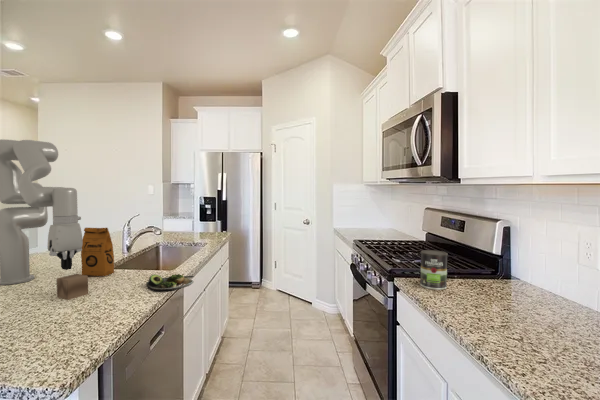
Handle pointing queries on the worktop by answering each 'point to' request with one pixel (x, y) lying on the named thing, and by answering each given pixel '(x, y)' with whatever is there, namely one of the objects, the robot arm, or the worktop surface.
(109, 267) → the coffee package
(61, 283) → the letter block
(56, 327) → the worktop surface
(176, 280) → the salad plate
